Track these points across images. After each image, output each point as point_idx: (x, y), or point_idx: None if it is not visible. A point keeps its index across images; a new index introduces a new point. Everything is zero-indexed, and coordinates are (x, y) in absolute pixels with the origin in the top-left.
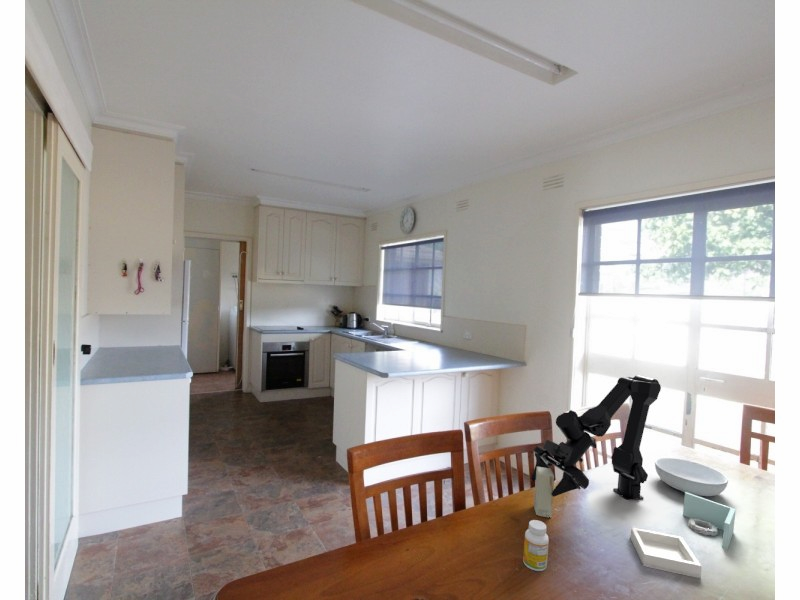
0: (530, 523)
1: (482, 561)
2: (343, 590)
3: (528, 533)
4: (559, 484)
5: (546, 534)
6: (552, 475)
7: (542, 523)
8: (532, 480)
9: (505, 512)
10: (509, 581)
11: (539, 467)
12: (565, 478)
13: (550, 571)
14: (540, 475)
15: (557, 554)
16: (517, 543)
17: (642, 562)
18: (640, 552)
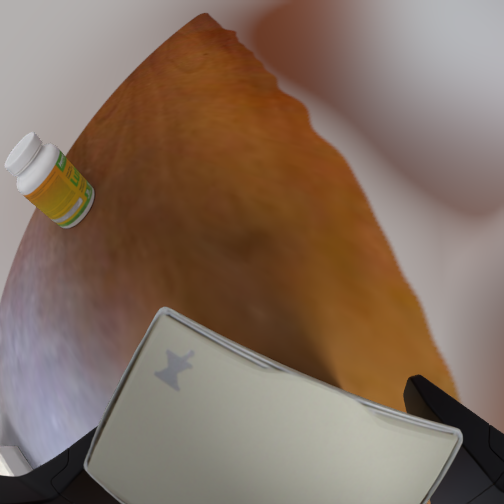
0: (30, 134)
1: (130, 122)
2: (170, 38)
3: (43, 145)
4: (76, 457)
5: (18, 183)
6: (109, 478)
7: (11, 160)
8: (406, 387)
9: (302, 227)
10: (80, 153)
11: (417, 463)
12: (9, 482)
13: (53, 229)
14: (157, 323)
15: (69, 279)
16: (136, 196)
17: (20, 453)
18: (21, 469)
